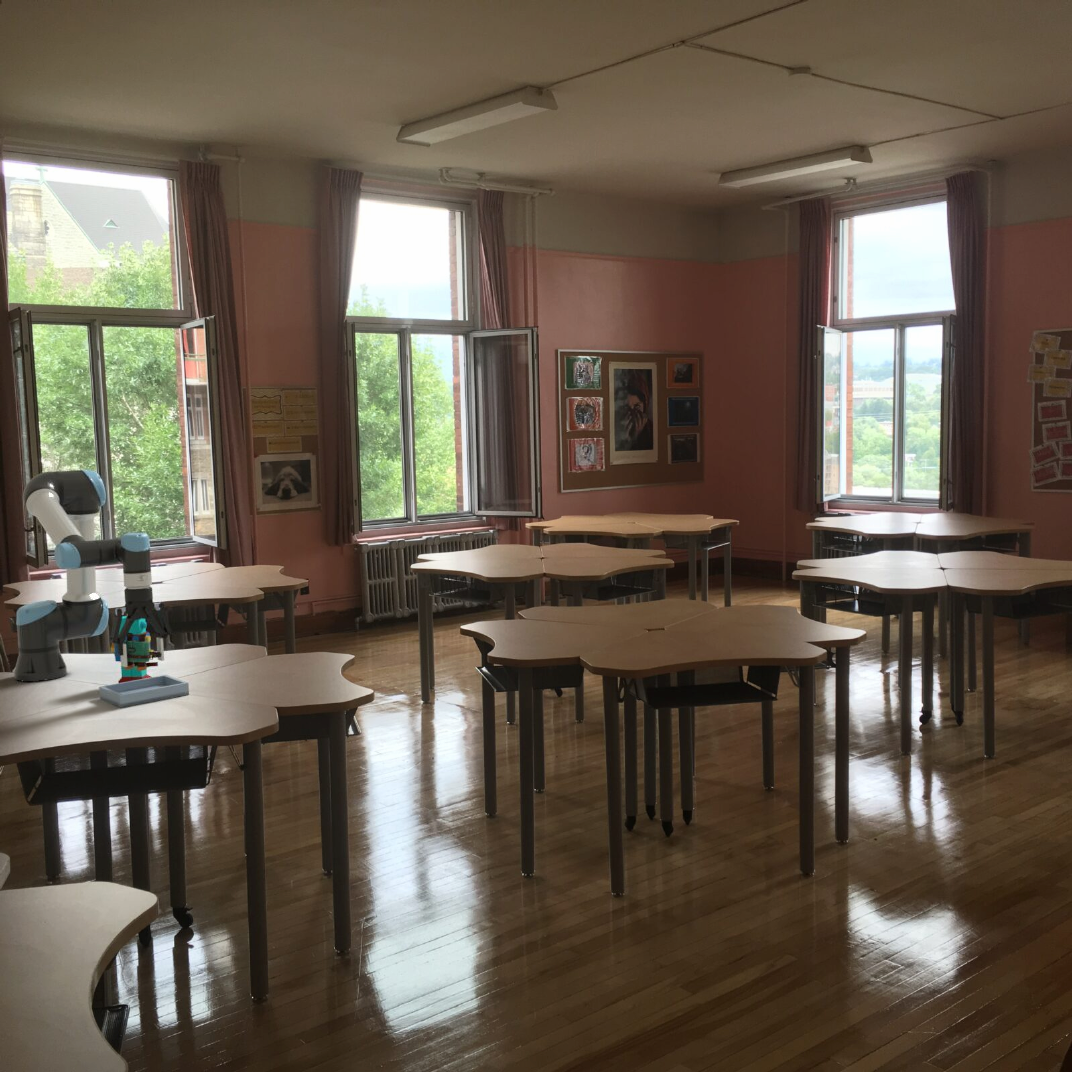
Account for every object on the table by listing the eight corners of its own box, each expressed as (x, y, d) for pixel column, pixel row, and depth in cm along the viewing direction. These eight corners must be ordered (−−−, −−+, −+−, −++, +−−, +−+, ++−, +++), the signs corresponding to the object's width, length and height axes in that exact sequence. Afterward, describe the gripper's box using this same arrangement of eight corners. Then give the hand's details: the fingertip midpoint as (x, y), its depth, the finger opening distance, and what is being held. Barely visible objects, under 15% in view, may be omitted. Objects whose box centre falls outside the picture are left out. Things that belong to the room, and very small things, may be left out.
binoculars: (166, 631, 315) (142, 634, 306) (166, 668, 315) (141, 672, 306) (142, 630, 319) (117, 632, 309) (141, 665, 319) (116, 669, 309)
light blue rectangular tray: (99, 698, 312) (99, 686, 312) (166, 686, 326) (165, 674, 326) (120, 707, 302) (120, 695, 301) (189, 694, 315) (188, 682, 315)
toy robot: (158, 682, 331) (153, 601, 328) (149, 687, 325) (144, 605, 322) (121, 682, 332) (116, 602, 329) (112, 687, 326) (107, 605, 323)
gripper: (103, 593, 300) (108, 671, 302) (181, 583, 315) (186, 658, 318) (93, 590, 305) (98, 667, 308) (170, 581, 321) (174, 655, 323)
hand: (142, 663), depth 313 cm, fingers closed on binoculars, 10 cm apart
